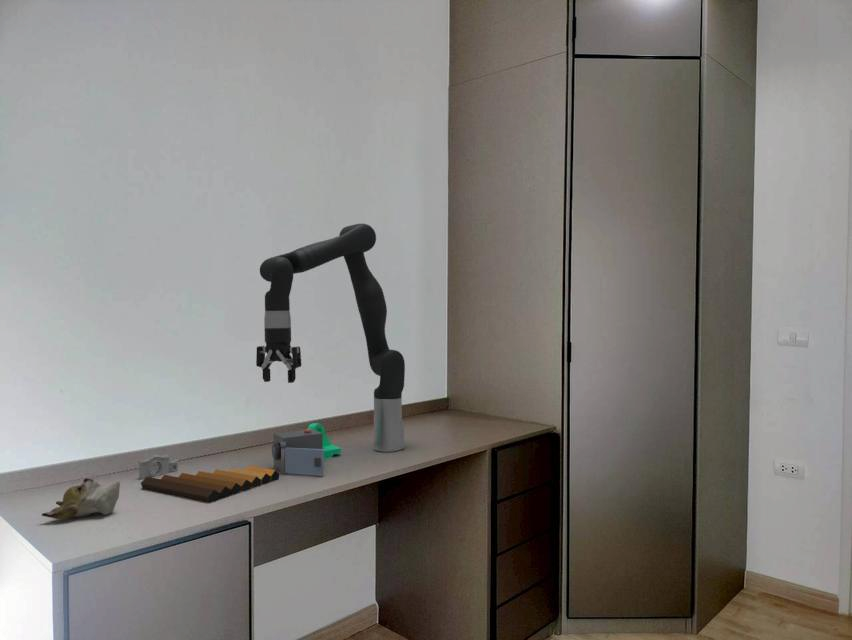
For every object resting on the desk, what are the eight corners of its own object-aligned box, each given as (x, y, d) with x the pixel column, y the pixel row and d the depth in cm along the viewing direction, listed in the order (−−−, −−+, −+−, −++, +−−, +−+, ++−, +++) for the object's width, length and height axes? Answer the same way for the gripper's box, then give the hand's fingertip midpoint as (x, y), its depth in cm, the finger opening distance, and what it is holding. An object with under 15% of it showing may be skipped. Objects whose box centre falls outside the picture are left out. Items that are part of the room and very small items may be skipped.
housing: (311, 461, 194) (311, 426, 194) (325, 468, 186) (324, 431, 186) (269, 467, 187) (269, 431, 187) (281, 475, 179) (281, 436, 179)
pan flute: (140, 491, 165) (208, 505, 153) (140, 478, 165) (208, 491, 153) (215, 469, 187) (279, 481, 175) (215, 458, 187) (279, 468, 175)
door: (323, 473, 178) (323, 449, 178) (321, 475, 176) (321, 450, 176) (282, 471, 180) (282, 447, 180) (279, 473, 179) (279, 448, 179)
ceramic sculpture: (113, 480, 141) (38, 489, 137) (116, 519, 141) (41, 528, 138) (124, 469, 151) (55, 477, 148) (127, 505, 151) (57, 513, 148)
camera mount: (309, 462, 194) (309, 428, 194) (297, 457, 200) (296, 425, 200) (342, 456, 202) (342, 424, 202) (329, 452, 208) (329, 420, 208)
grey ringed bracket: (175, 470, 185) (174, 449, 185) (179, 470, 184) (179, 450, 184) (137, 479, 175) (137, 458, 175) (141, 480, 174) (141, 458, 174)
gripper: (305, 325, 185) (306, 381, 185) (266, 325, 191) (267, 379, 191) (290, 327, 178) (291, 384, 178) (249, 327, 184) (250, 382, 184)
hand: (279, 382), depth 185 cm, fingers open, 8 cm apart
